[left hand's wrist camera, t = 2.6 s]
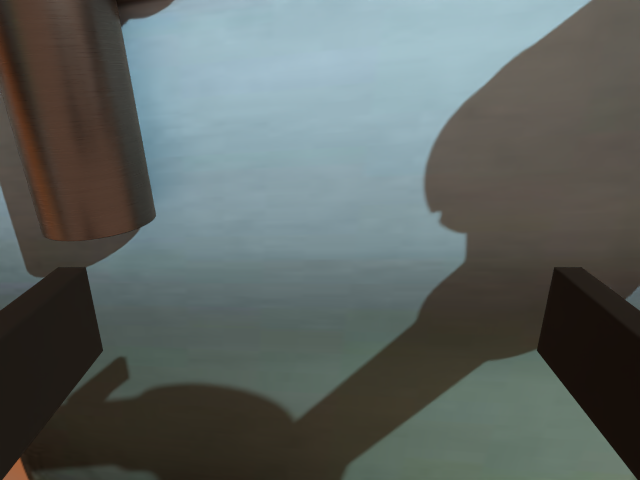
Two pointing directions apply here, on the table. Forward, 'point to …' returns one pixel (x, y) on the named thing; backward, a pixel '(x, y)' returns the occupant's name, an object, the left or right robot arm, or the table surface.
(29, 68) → the rod
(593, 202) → the table surface
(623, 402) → the left robot arm
